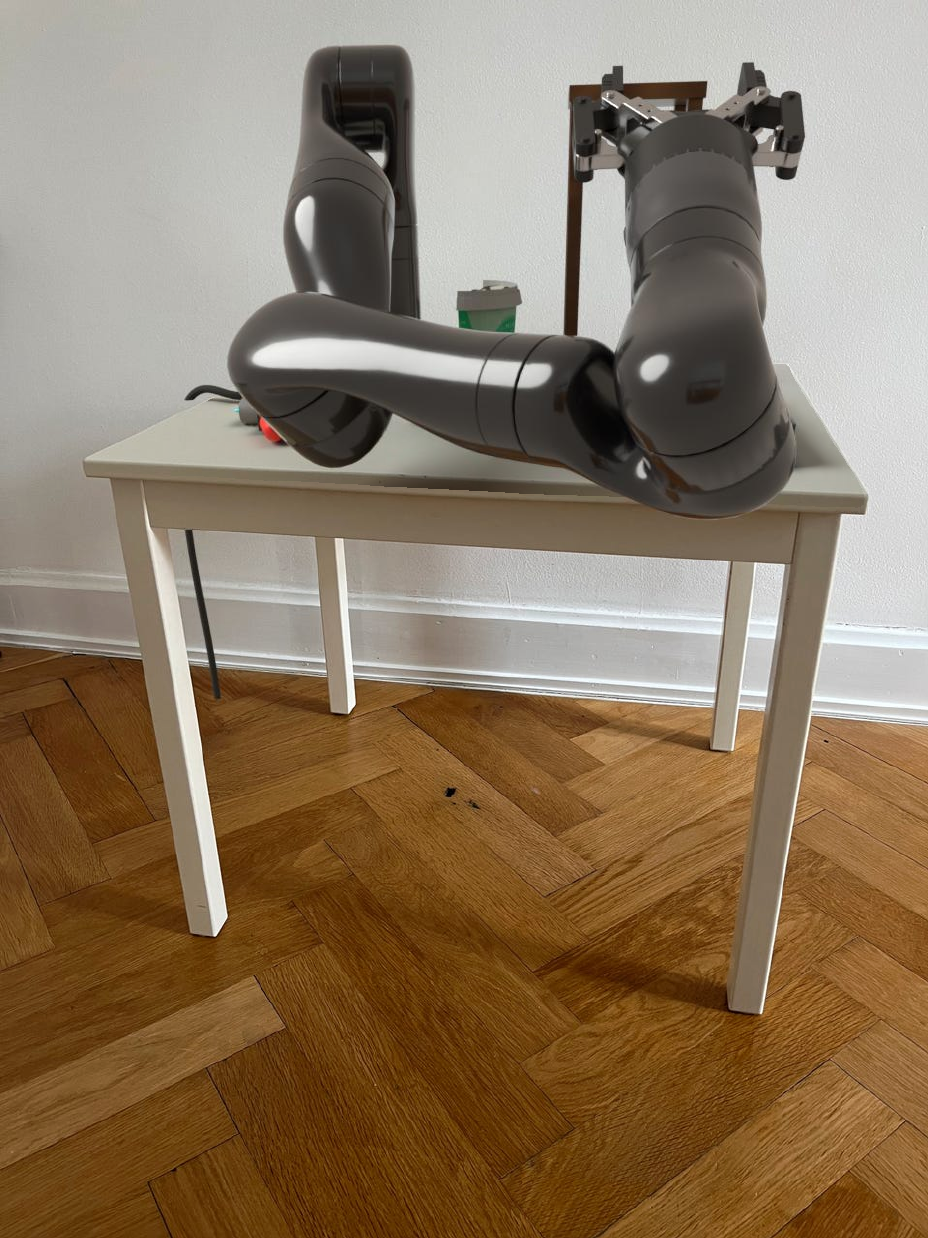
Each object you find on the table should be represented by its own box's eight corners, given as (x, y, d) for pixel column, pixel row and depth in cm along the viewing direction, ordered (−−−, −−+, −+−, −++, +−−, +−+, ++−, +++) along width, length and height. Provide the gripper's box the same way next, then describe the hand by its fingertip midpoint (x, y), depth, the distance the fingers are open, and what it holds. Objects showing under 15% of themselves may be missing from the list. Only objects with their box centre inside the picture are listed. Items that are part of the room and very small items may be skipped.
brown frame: (561, 378, 106) (569, 84, 93) (560, 356, 119) (568, 94, 105) (681, 378, 105) (707, 80, 92) (668, 356, 117) (689, 90, 104)
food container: (508, 382, 105) (508, 292, 100) (457, 380, 107) (455, 291, 102) (531, 362, 116) (532, 279, 111) (484, 360, 117) (484, 279, 113)
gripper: (836, 151, 48) (801, 12, 57) (569, 155, 50) (576, 20, 59) (802, 273, 54) (775, 131, 63) (565, 274, 56) (572, 135, 65)
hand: (679, 78), depth 61 cm, fingers open, 8 cm apart
